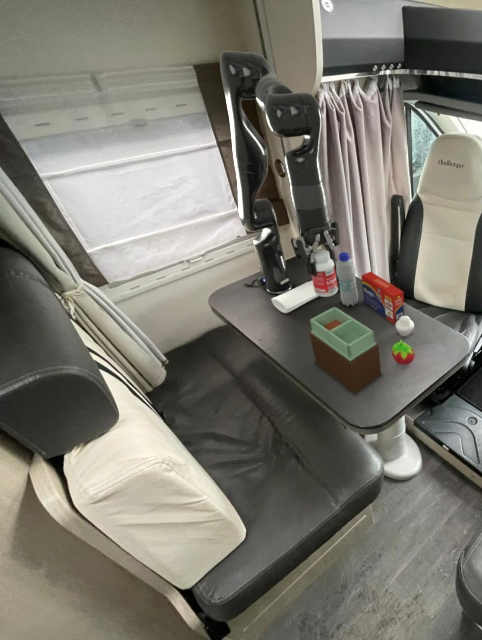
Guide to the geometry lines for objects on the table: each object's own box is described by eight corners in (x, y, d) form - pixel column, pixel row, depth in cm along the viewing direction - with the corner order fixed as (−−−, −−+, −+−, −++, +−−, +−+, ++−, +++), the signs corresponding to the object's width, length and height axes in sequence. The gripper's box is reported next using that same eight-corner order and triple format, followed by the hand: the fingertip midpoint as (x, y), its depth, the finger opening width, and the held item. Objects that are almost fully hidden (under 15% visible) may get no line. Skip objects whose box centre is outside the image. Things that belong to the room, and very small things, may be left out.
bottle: (356, 309, 132) (350, 258, 118) (338, 307, 133) (330, 256, 119) (361, 299, 136) (356, 249, 123) (344, 297, 137) (337, 247, 124)
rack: (316, 363, 110) (305, 319, 99) (342, 347, 116) (335, 304, 105) (354, 394, 101) (347, 349, 90) (380, 375, 107) (377, 331, 95)
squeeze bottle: (273, 306, 133) (269, 295, 129) (316, 285, 144) (314, 273, 140) (288, 317, 128) (285, 305, 125) (332, 293, 139) (330, 282, 136)
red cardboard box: (404, 320, 127) (403, 291, 119) (395, 324, 125) (394, 296, 117) (372, 298, 137) (370, 271, 129) (364, 302, 135) (361, 275, 127)
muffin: (392, 332, 122) (391, 315, 117) (406, 325, 124) (406, 308, 120) (403, 341, 118) (402, 324, 113) (417, 334, 121) (418, 317, 116)
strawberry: (403, 376, 106) (402, 350, 100) (388, 362, 111) (386, 337, 104) (418, 367, 109) (418, 342, 102) (403, 354, 113) (402, 329, 107)
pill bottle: (331, 299, 94) (325, 260, 87) (310, 295, 96) (302, 256, 88) (342, 287, 99) (336, 249, 91) (321, 284, 100) (314, 246, 93)
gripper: (319, 190, 88) (330, 254, 99) (273, 208, 79) (291, 277, 90) (343, 195, 85) (351, 261, 96) (298, 215, 76) (313, 285, 87)
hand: (322, 269), depth 93 cm, fingers closed on pill bottle, 6 cm apart
